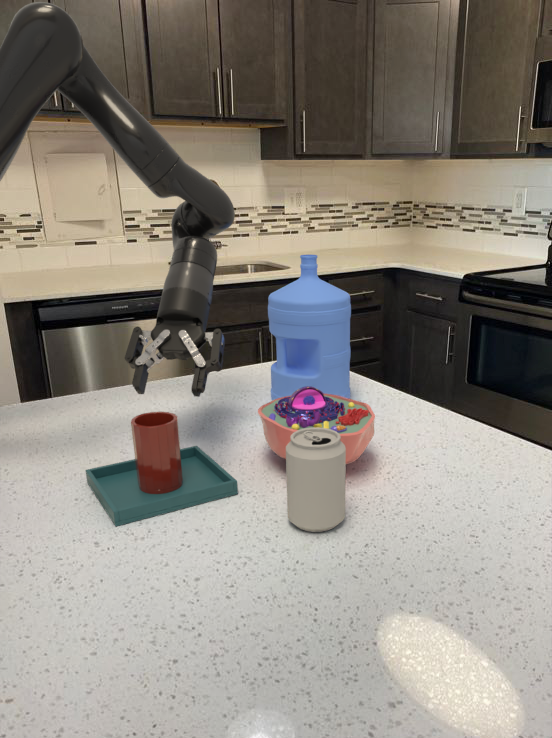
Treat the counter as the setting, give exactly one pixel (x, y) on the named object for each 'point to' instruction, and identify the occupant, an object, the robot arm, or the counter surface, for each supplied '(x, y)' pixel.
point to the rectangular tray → (131, 504)
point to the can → (315, 479)
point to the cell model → (317, 420)
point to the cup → (157, 452)
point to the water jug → (310, 335)
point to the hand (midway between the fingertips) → (167, 393)
